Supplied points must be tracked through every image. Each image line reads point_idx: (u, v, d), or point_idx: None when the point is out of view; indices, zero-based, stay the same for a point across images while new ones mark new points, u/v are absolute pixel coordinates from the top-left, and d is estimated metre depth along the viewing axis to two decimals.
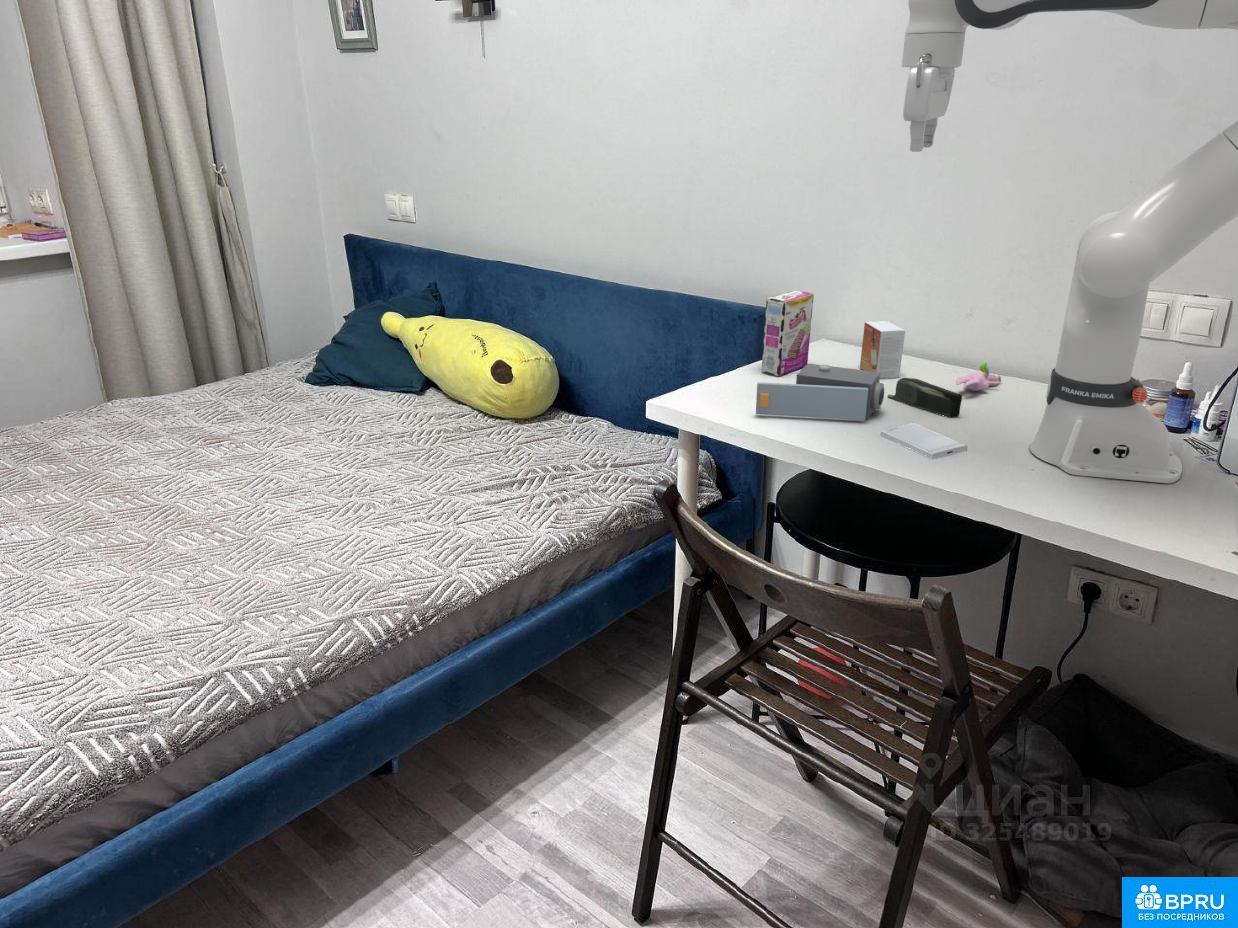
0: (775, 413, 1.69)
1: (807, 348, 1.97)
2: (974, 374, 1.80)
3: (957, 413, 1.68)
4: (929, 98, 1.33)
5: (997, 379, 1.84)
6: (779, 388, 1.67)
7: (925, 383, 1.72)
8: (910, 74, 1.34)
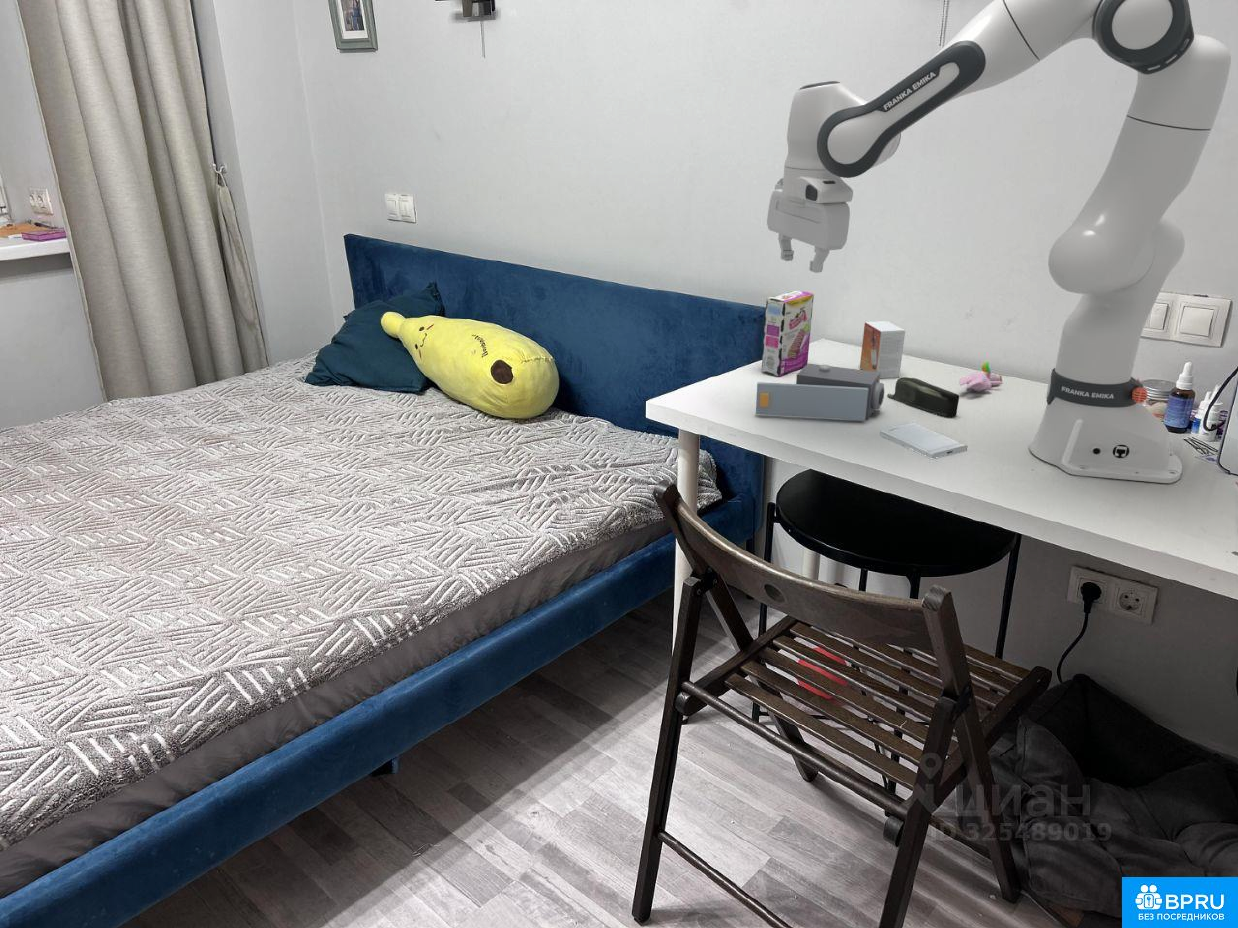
0: (775, 413, 1.69)
1: (807, 348, 1.97)
2: (977, 374, 1.80)
3: (954, 413, 1.68)
4: (768, 212, 1.63)
5: (998, 379, 1.84)
6: (779, 388, 1.67)
7: (923, 383, 1.72)
8: None
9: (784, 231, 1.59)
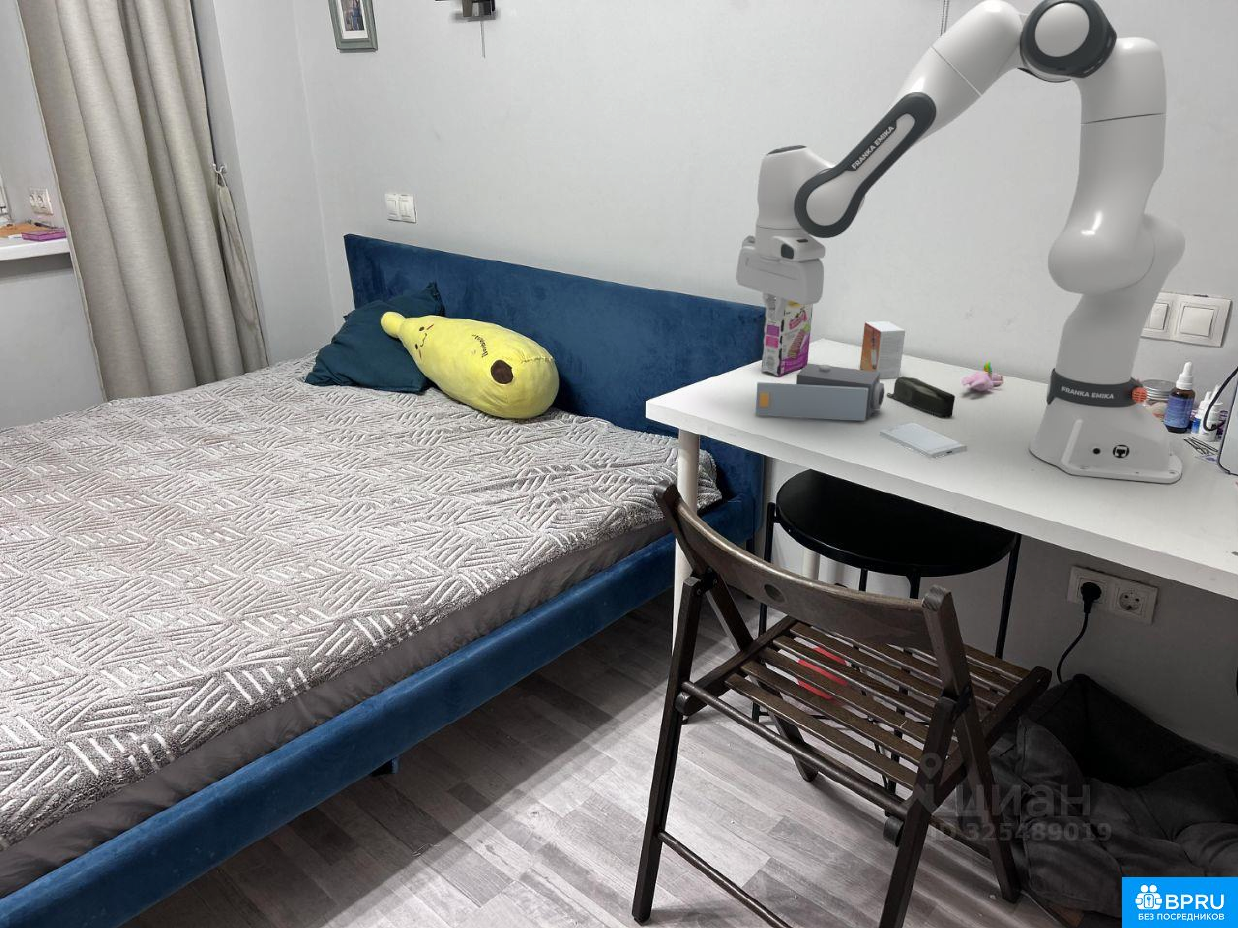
0: (775, 413, 1.69)
1: (807, 348, 1.97)
2: (979, 374, 1.80)
3: (949, 413, 1.68)
4: (737, 268, 1.69)
5: (1000, 378, 1.85)
6: (779, 388, 1.67)
7: (921, 382, 1.72)
8: None
9: (756, 286, 1.65)
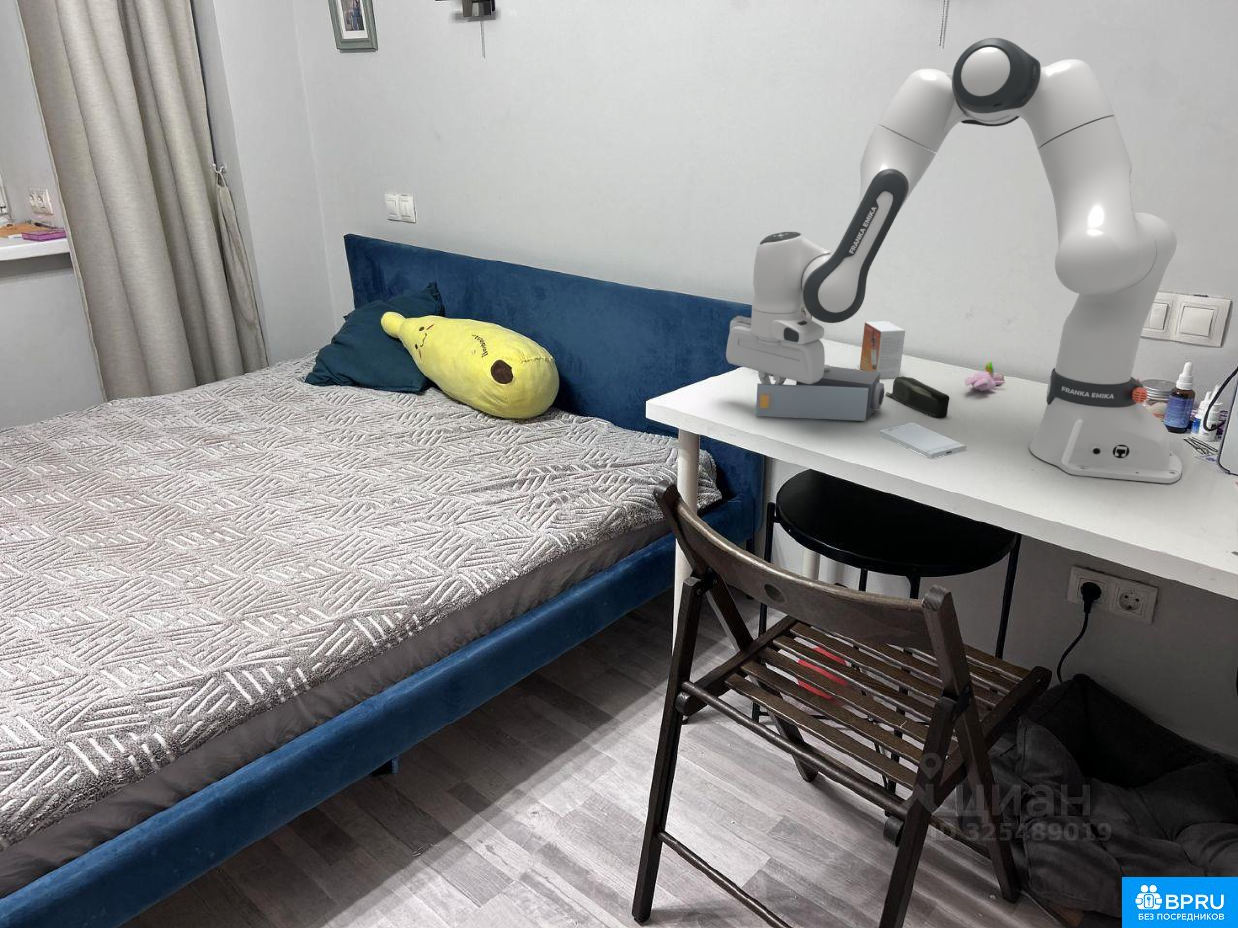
0: (775, 414, 1.68)
1: None
2: (981, 374, 1.80)
3: (944, 414, 1.68)
4: (728, 347, 1.72)
5: (1001, 378, 1.85)
6: (780, 389, 1.66)
7: (918, 382, 1.72)
8: None
9: (751, 365, 1.69)
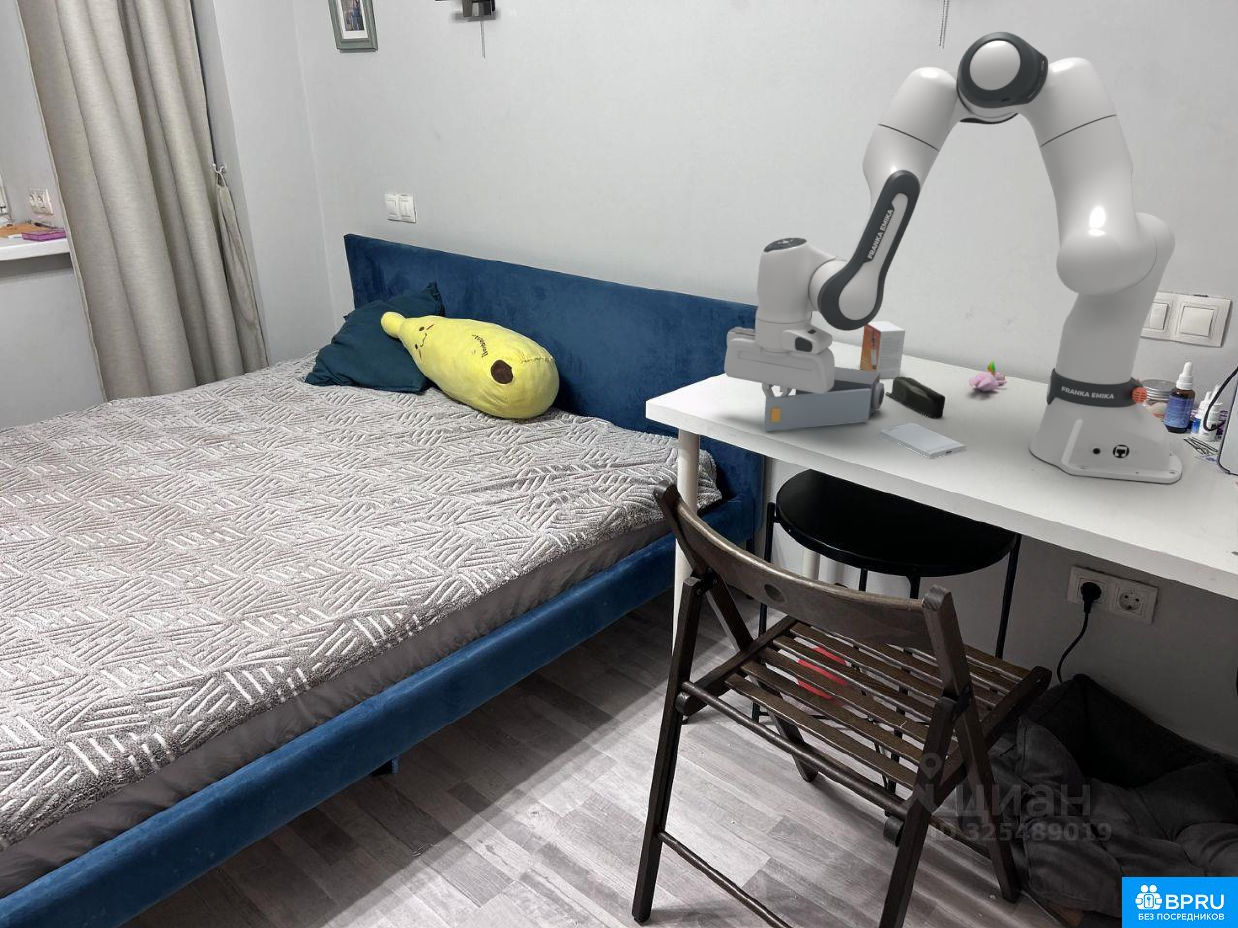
0: (785, 427, 1.62)
1: None
2: (985, 374, 1.80)
3: (939, 414, 1.68)
4: (726, 360, 1.64)
5: (1003, 378, 1.85)
6: (789, 401, 1.60)
7: (916, 382, 1.73)
8: None
9: (755, 378, 1.62)
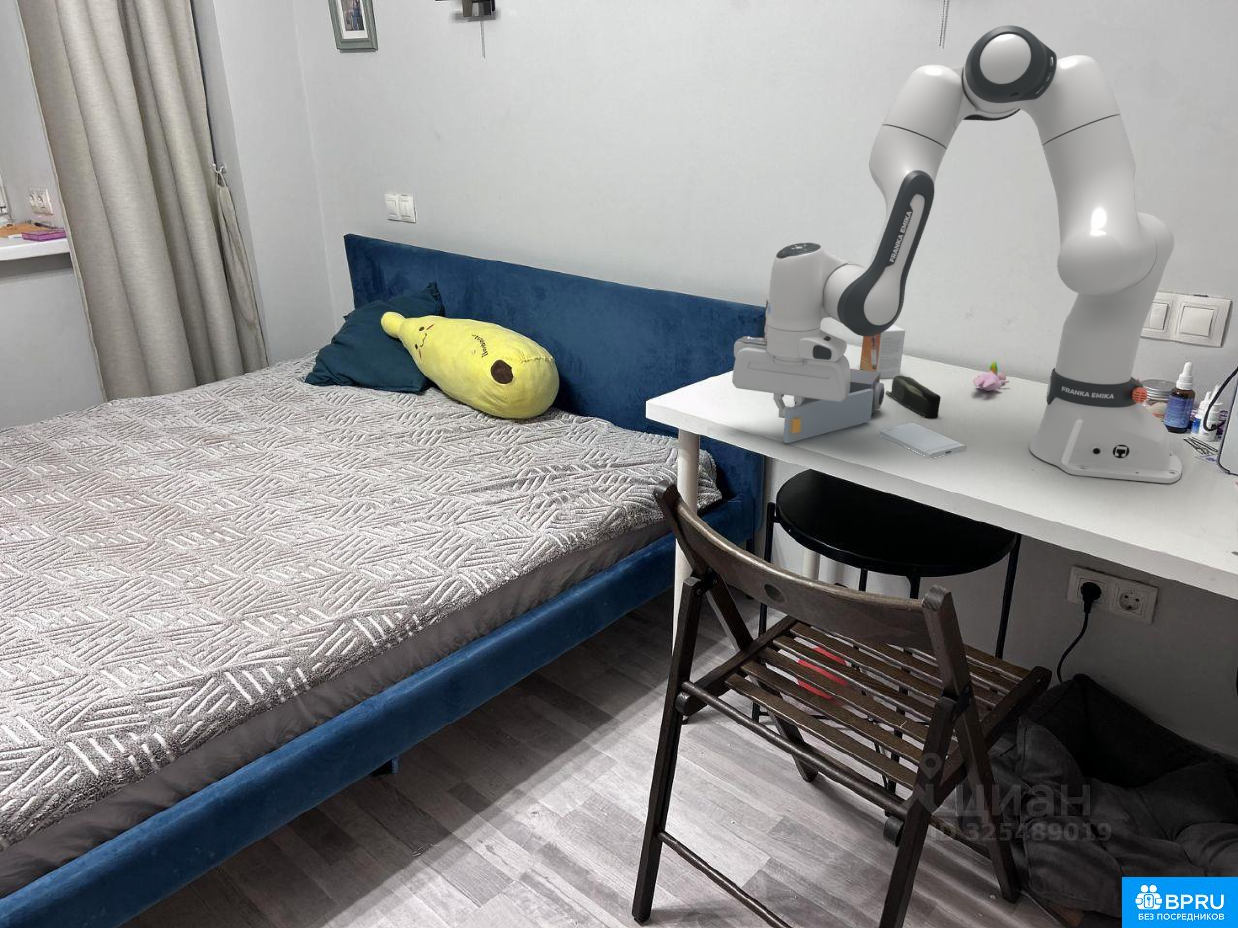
0: (803, 436, 1.58)
1: None
2: (988, 374, 1.80)
3: (934, 414, 1.68)
4: (735, 371, 1.58)
5: (1004, 377, 1.85)
6: (807, 409, 1.56)
7: (913, 382, 1.73)
8: None
9: (767, 388, 1.57)
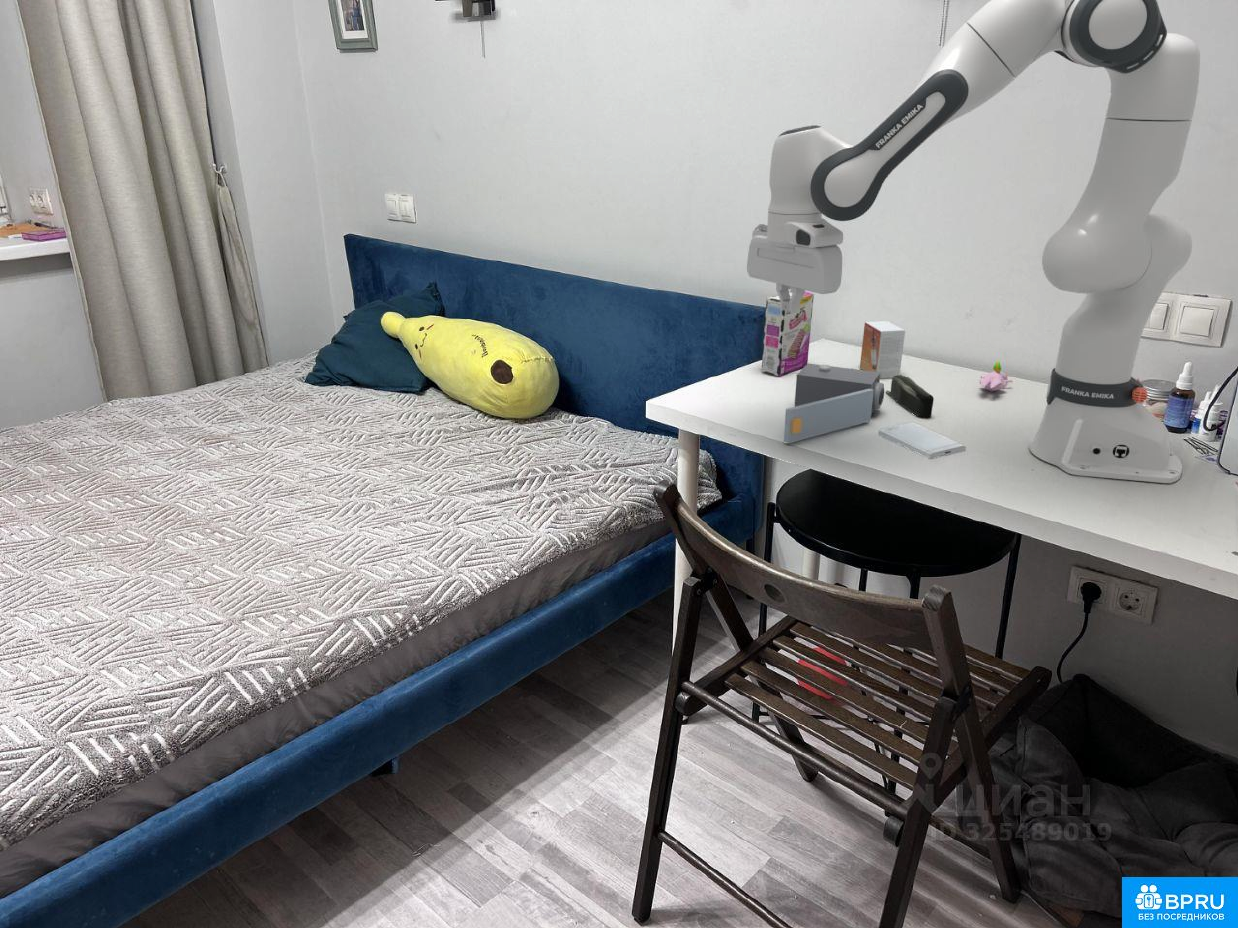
0: (803, 436, 1.58)
1: (807, 348, 1.97)
2: (993, 374, 1.80)
3: (927, 414, 1.68)
4: (748, 259, 1.60)
5: (1006, 377, 1.86)
6: (808, 409, 1.56)
7: (910, 382, 1.73)
8: None
9: (769, 277, 1.56)
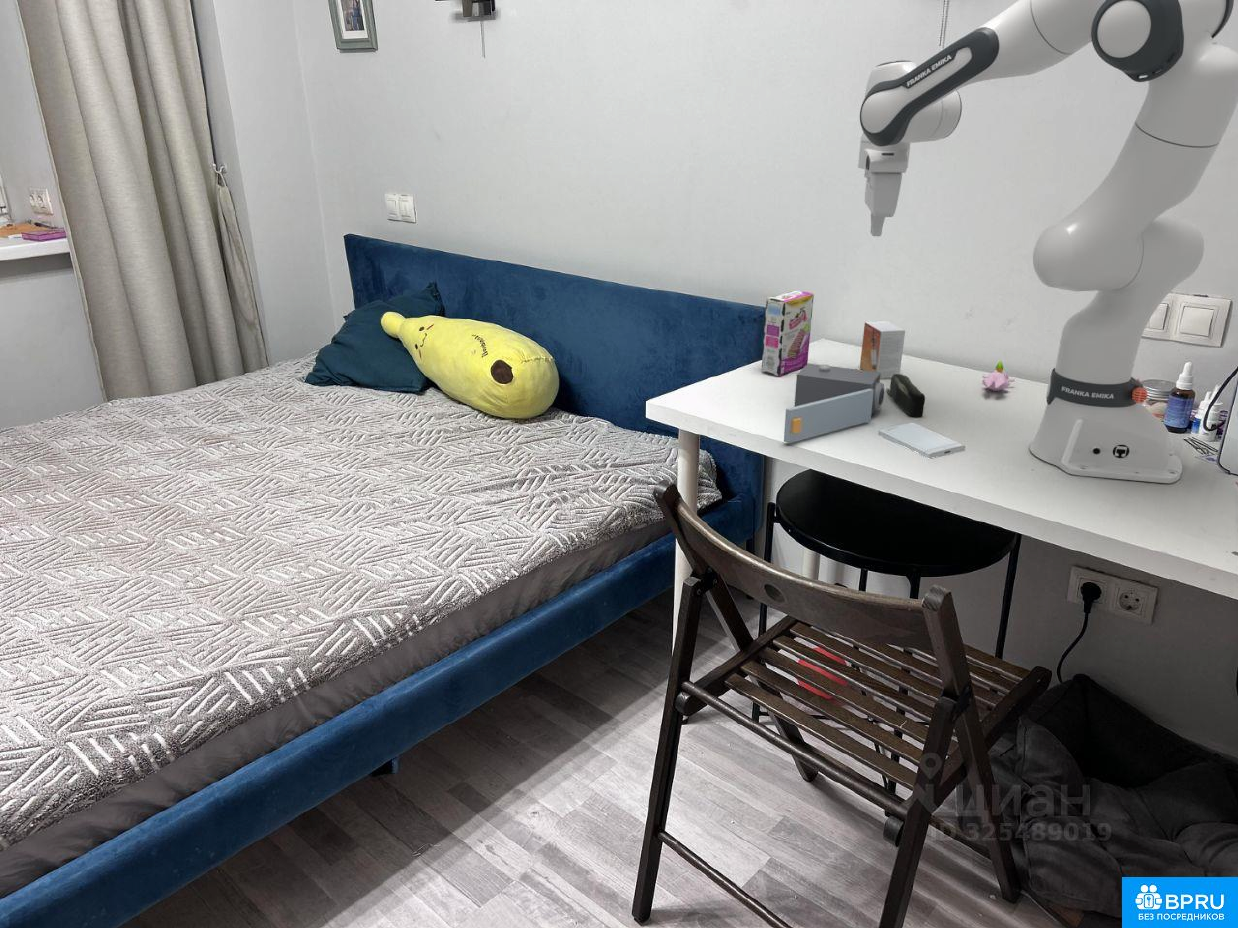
0: (803, 436, 1.58)
1: (807, 348, 1.97)
2: (996, 374, 1.80)
3: (918, 413, 1.68)
4: None
5: None
6: (808, 409, 1.56)
7: (906, 381, 1.73)
8: None
9: (867, 202, 1.72)
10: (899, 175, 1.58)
